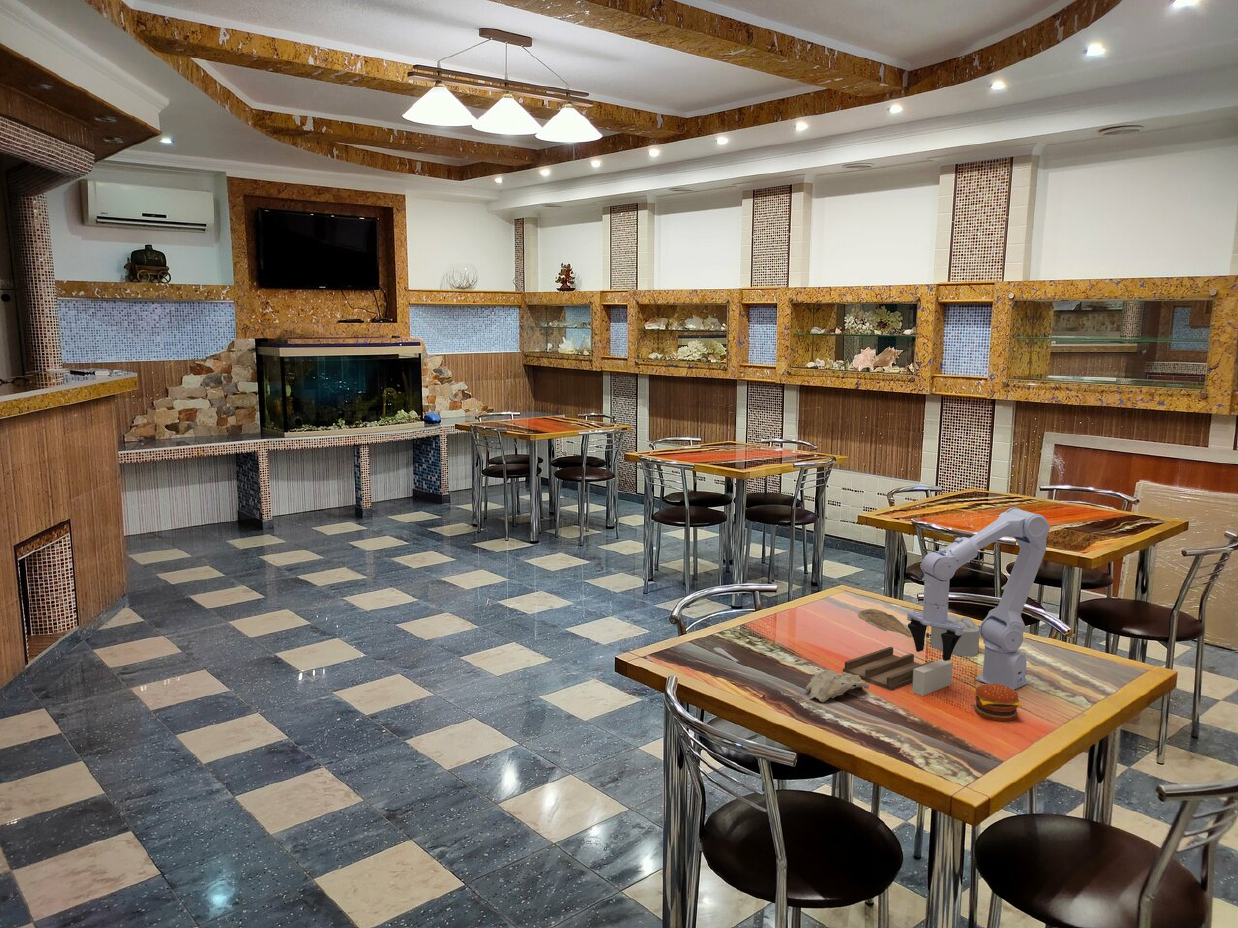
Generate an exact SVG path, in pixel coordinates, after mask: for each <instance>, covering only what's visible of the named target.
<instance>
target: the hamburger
mask: <svg viewBox="0 0 1238 928" xmlns="http://www.w3.org/2000/svg"><path fill="white" fill-rule="evenodd" d="M972 692H973V693H974V694H975V705H974V711H975V713H976V714H977V715H978V716H981V717H983V718H985V719H988V720H992V721H996V722H997V721H998V722H1008V721H1009V722H1010V721H1013V720H1015V719H1017V717H1018V712H1017V708H1018V707H1019V708H1023V705H1022V704H1021V702H1020V700H1019V694H1018V692H1017V691H1016V690H1015V689H1014V690H1013V689H1011V688H1009V687H1007V686H1005V685H1001V684H993V683H983V684H982V685H979V686H977V687H976V688H973V689H972Z"/></svg>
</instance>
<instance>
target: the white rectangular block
mask: <svg viewBox="0 0 1238 928" xmlns="http://www.w3.org/2000/svg"><path fill="white" fill-rule="evenodd" d="M933 661H934V660H933ZM953 664H954V662H953V661H950V660H947V661H944V660H943V658H941V659H938V660H935V661H934V662H932V663H929V664H926V665H923V666H921V667H918V668H915V669H913V683H912V688H911V689H912V691H911V692H912V693H913V694H914V693H915V694H917V695H920V696H922V697H924V696H926V695H929V694H931V693H934V692H937V691H939V690H941V689H944V688H946V687H949V686H952V684H953V683H952V681H953V680H952V679H953V667H954V665H953Z"/></svg>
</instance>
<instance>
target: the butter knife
mask: <svg viewBox="0 0 1238 928" xmlns="http://www.w3.org/2000/svg"><path fill="white" fill-rule="evenodd" d="M712 650H713V651H715V652H716V653H719V654H721V655H722V656H724V657H727V658H729V659H730V660H731V661H733V662H739V661H740V660H739V659H737V658H735V657H734V656H732V655H731V654H729V653H728V652H727V651H726V650H725V649H723V648H721V647H713V648H712Z"/></svg>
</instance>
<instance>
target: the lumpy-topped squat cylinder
mask: <svg viewBox="0 0 1238 928" xmlns="http://www.w3.org/2000/svg"><path fill="white" fill-rule="evenodd" d="M947 619H948V620H950V621H952V622H954V623H956V624H958V625H961V626H964V630H963V634H962V636H961V637H960V639H959V640H958V642H957V643H956V645H955V647H954V649H953V652H952V655H953V656H957V657H958V656H959V657H964V658H965V657H967V658H972V657H977V656H978V655H979V650H980V649H979V648H980V636H981V635H980V632H979V628H980V625H978V624H977V623H976V622H974V621H973V619H972V618H970V617H969V616H963V617H958V616H957V615H955V614H948V617H947ZM945 632H947V631H945V630H942V629H938V628H935V627H932V626H930V643H929V644H930V647H932V648H934V649H935V650H938V651H940V652H942V653H943V643H942V638H941V634H942V633H945ZM952 655H951V656H952Z"/></svg>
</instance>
